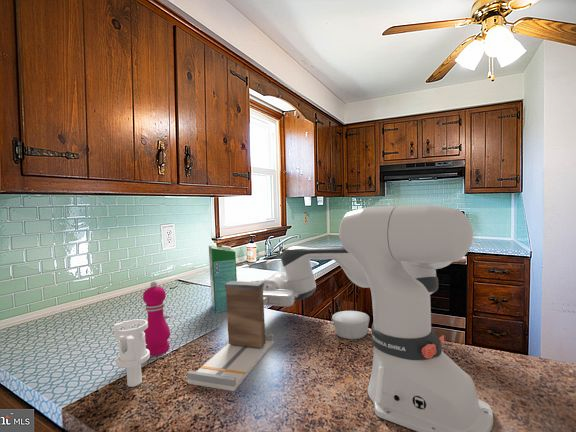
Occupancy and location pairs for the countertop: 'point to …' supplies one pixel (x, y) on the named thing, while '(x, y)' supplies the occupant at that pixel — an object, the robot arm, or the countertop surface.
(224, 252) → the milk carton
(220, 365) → the slide board
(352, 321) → the ramekin
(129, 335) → the white cylindrical cage holder
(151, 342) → the pepper mill
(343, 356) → the countertop surface
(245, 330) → the block
